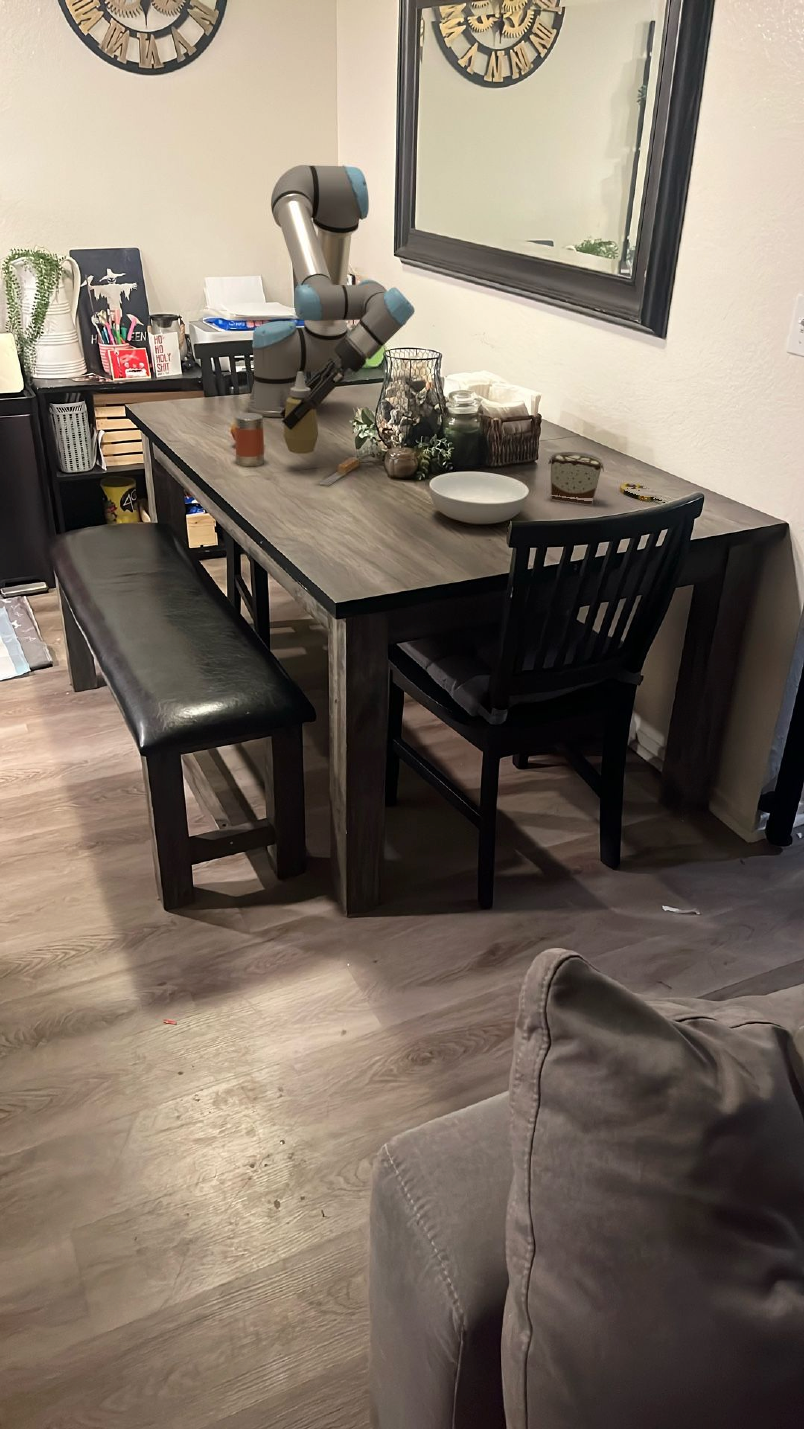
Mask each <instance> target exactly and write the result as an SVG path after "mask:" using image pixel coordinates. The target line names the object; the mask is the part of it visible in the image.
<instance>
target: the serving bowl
mask: <svg viewBox="0 0 804 1429" xmlns="http://www.w3.org/2000/svg"><path fill="white" fill-rule="evenodd" d="M428 488H429V495H430V499H431V501H432V503H433V505H434V506H435V508H436V509H437V510H438V511H439V513H441V514H443V515H444V516H446V517H448V518H450V519H452V520H455V521H459V522H463V523H466V524H470V525H471V524H472V525H491V524H497V523H502V522H505V521H508V520H511V519H512V518H514V517H516V516H517V515H518V514H519V513H521V511H522V510H523V509H524V507H525V505H526V503H527V501H528V497H529V494H530V490H529V487H528V486H527V485H526V484H525V483H524V482H522V481H520V480H519V479H516V478H513V477H510V476H506V475H502V474H497V473H492V472H484V471H483V472H482V471H456V472H447V473H443V474H440V475H437V476H435V477H433V478H432V479H431V480H430V481H429V484H428Z"/></svg>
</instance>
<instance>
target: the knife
mask: <svg viewBox="0 0 804 1429" xmlns="http://www.w3.org/2000/svg"><path fill="white" fill-rule="evenodd" d="M359 466H360V458H358V457H353V456H351V457H349V458H348V459H346V460H344V461H342V462H341V463H340V464H338V465H337V471H335V473H333V474H331V475H330V476H328V477H327V478H325V479H323V480H322V481H320V482H319V483H318V485H319V486H326V487H329V486H331V485H333V484H334V483H336V482H337V481H339V480H340V479H342V478H343V477H345V476H346V475H347V474H348V473H349V472H351V471H353V470H354V469H356V468H357V467H359Z"/></svg>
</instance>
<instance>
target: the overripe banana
mask: <svg viewBox="0 0 804 1429" xmlns="http://www.w3.org/2000/svg"><path fill="white" fill-rule="evenodd" d="M621 485H622V486H624V487H633V488H631V489H639V488H641V489H647V488H648V489H650V488H649V487H646V488H643V487H645V486H643V485H640V484H635V483H632V482H625V483H621V484H620V486H621ZM620 486H619V491H620V492H621V493H623V494H624V495H625V496H627V497H629V498H633V499H636V500H640V501H644V502H651V501H657V502H659V501H662V500H663V499H661V500H659V499H660V498H659V499H656V498H657V497H656V498H655V499H653V498H654V497H644V496H640V495H636V494H633V493H630V492H628V491H625V490H624V489H622V488H621V487H620ZM636 487H638V488H636ZM627 489H628V488H627ZM629 489H630V488H629ZM638 491H640V490H638ZM642 498H643V499H642ZM645 498H647V499H645ZM661 503H662V504H664V503H665V502H661Z"/></svg>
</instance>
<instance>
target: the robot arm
mask: <svg viewBox="0 0 804 1429" xmlns="http://www.w3.org/2000/svg"><path fill="white" fill-rule="evenodd" d="M369 199H370V198H369V190H368V184H367V180H366V177H365V174H364V173H363V171H362V170H361V169H360V168H359V167H357V166H347V165H344V164H343V165H308V164H299V165H296V166H293V167H291V168H290V169H288V170H287V171H285V172H284V173H283V174H282V175H281V176H280V177H279V179H278V180H277V182H276V183H275V185H274V187H273V190H272V194H271V196H270V209H271V213H272V217H273V220H274V222H275V224H276V225H277V226H278V227H279V228H281V232H282V235H283V238H284V243H285V245H286V248H287V251H288V255H289V258H290V261H291V265H292V267H293V271H294V275H295V278H296V281H297V286H296V287H295V289H294V292H293V307H294V312H295V315H296V317H297V318H298V319H299V320H301V321H304V325H303V326H298V327H297V325H296V323H295V322H294V321H291V320H284V321H283V320H277V321H271V322H266V323H262V324H259V325H258V326H256V327H255V328H254V330H253V332H252V345H251V347H252V353H253V354H252V358H253V362H252V363H253V385H252V389H251V392H250V396H249V399H248V402H247V403H248V405H247V411H248V413H257V414H260V415H262V416H263V418H283V419H282V420H281V422H282V423H283V425H284V424H285V425H286V426H287V427H288V428H289V429H290V430H291V429H292V428H293V427H294V426H295V425H296V424H297V423H298V422H299V421H300V420H301V419H302V418H303V417H304V416H305V415H306V414H307V413H308V412H309V411H310V410H311V409H313V410H314V409H316V410H317V407H318V406H320V404H321V403H322V402H323V401H324V400H325V399H326V398H327V397H328V396H329V395H330V394H331V393H332V391H334V389H335V388H336V387H337V386H338V385H339V384H340V383H342V382H343V381H345V375H346V374H345V373H346V372H347V371H348V369H350V370H351V372H353V373H355V374H356V373H358V372H360V370H361V369H362V368H363V367H364V366H365V365H366V364H367V360H371V359H372V358H373V357H374V356H375V355H376V354H377V353H378V352H379V351H380V350H381V349H382V348H383V347H384V346H385V344H386V343H388V341H389V340H390V339H392V338H393V337H394V335H396V334H397V333H398V332H399V331H400V330H401V328H403V327H404V326H405V325H406V324H407V323H408V321H409V320H410V319H411V317H413V315H414V314H415V307H414V305H412V303H411V302H410V301H409V300H408V299H407V298H406V296H405V295H404V294H403V293H402V292H401V291H400V290H399V289H398V288H397V287H396V286H395V287H394V286H393V287H391V288H390V289H388V290H387V289H386V287H385V286H384V285H382V284H381V283H379V282H378V281H376V280H374V279H364V280H362V281H360V282H358V284H347V281H348V272H349V270H348V269H349V261H350V253H351V244H352V243H351V242H352V234H354V233H355V232H357V231H358V229H359V223H360V220H361V221H362V220H365V219H367V218H368V215H369V210H370V200H369ZM316 229H317V230H316ZM346 321H358V322H357V323H356V324H354V323H352V324H351V328H350V327H348V323H347V322H346ZM298 372H303V373H309V372H313V373H314V372H316V373H315V374H314V375H313V376H312V377H310V378H308V379H304V380H305V384H306V387H308V388H310V389H311V393H310V394H309V395H308V396H307V397H306V399H304V398H301V402H300V403H299V404H298V405H297V406H296V407H295V408H294V409H293V410H292V411H291V412H290V413H289V414H288V415H287V416H286V417H285V411H286V400H287V399H288V398H289V397H291V395H290V389H291V388H292V387H295V383H296V378H297V373H298Z"/></svg>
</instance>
